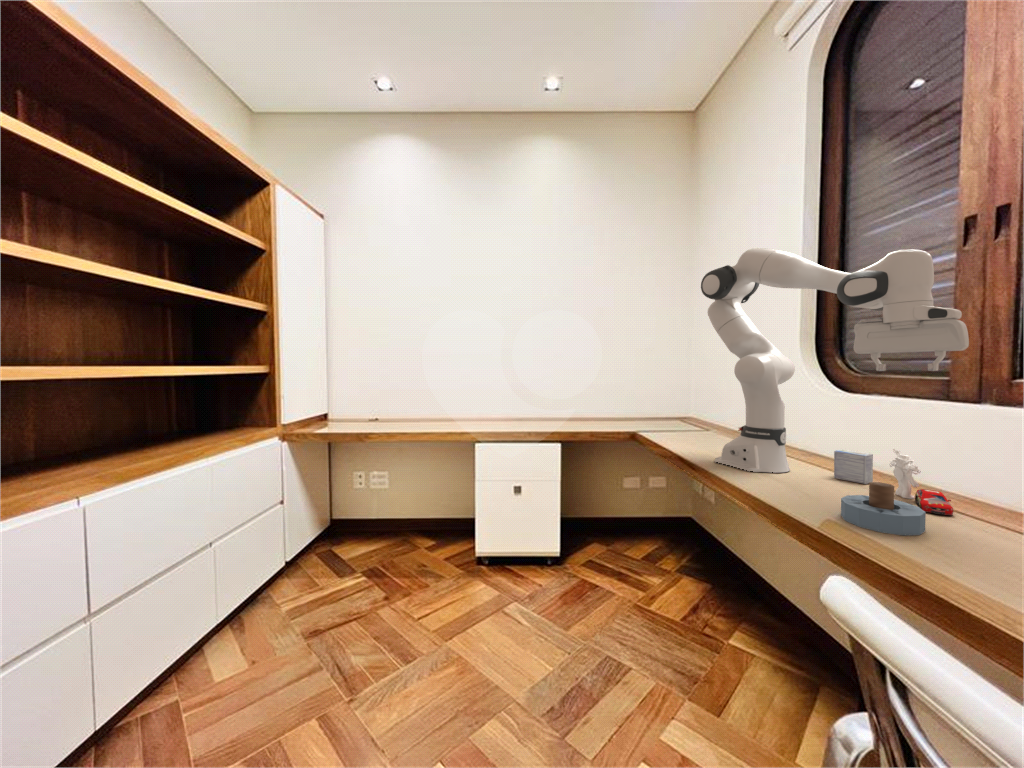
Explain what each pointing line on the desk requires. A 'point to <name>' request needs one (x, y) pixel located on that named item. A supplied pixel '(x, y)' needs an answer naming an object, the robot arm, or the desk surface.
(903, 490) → the white figurine
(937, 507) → the race car
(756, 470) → the robot arm
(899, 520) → the bead
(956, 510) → the desk surface
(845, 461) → the grey ridged block
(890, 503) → the dowel
